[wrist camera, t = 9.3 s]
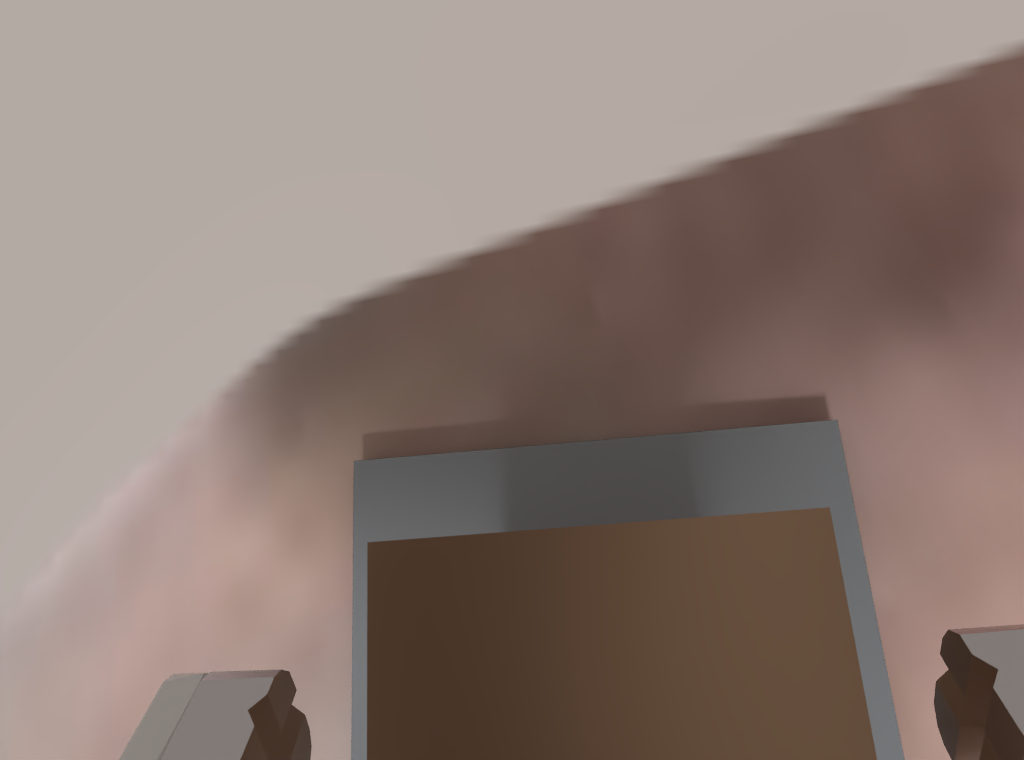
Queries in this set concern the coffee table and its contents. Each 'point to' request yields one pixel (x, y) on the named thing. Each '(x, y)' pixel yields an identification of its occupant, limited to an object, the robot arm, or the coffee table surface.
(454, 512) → the mat
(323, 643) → the coffee table surface
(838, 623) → the wooden square post
